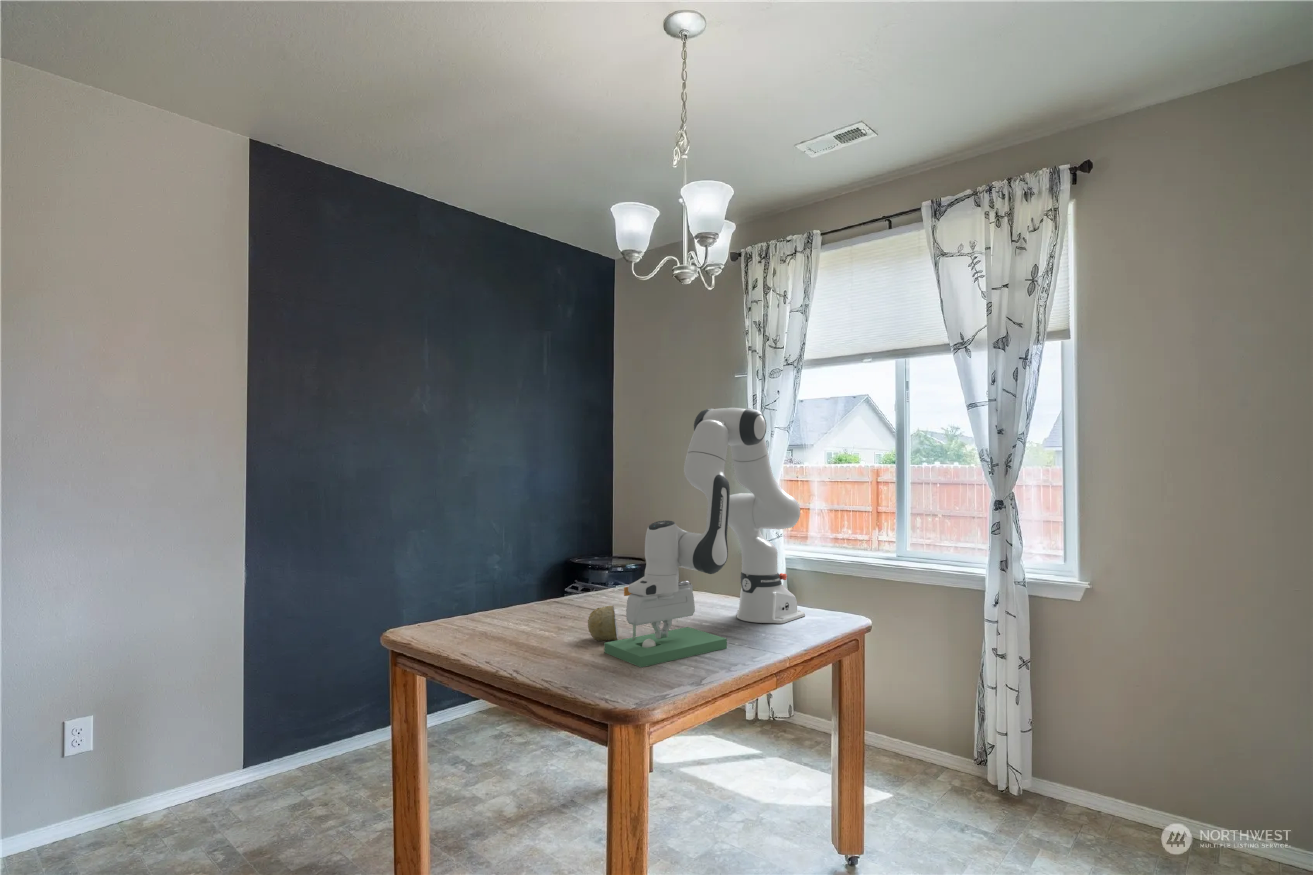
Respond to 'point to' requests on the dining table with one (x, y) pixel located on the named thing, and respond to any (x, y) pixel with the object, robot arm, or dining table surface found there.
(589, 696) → the dining table surface
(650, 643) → the ball
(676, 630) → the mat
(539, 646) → the dining table surface
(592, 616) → the coral
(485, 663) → the dining table surface
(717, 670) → the dining table surface
